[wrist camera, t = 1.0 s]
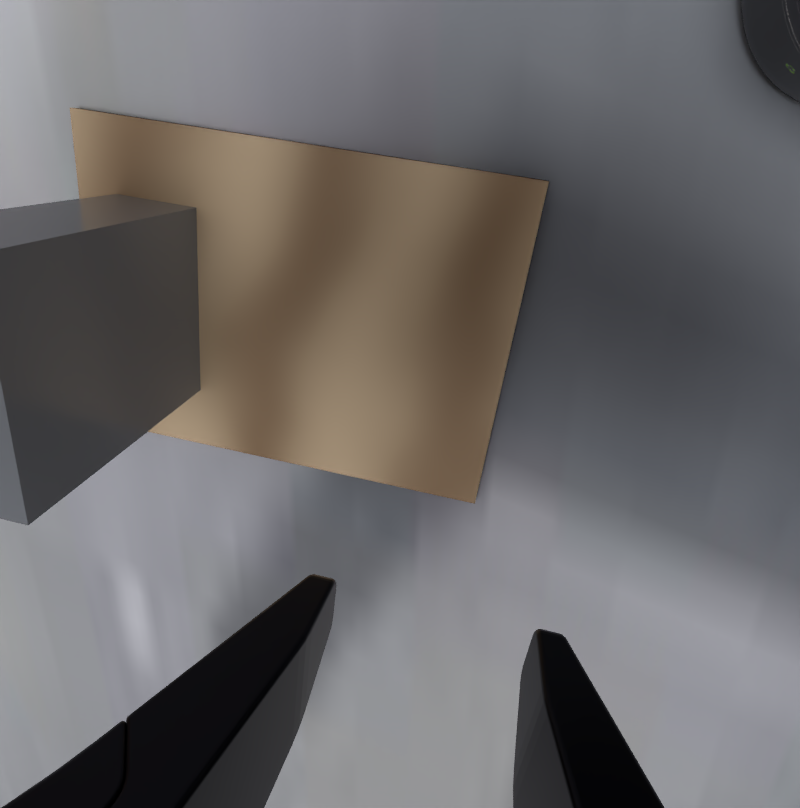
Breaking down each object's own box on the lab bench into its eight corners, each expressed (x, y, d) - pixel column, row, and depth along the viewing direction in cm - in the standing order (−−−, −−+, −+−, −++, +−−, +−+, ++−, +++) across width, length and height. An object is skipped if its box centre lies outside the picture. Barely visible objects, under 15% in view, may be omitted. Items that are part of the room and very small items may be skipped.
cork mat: (548, 180, 18) (548, 181, 17) (475, 497, 23) (474, 503, 23) (78, 108, 20) (69, 107, 19) (109, 417, 25) (103, 421, 24)
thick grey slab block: (196, 207, 20) (-24, 253, 12) (200, 389, 23) (28, 525, 15) (113, 193, 20) (-156, 228, 12) (128, 374, 23) (-79, 499, 15)
